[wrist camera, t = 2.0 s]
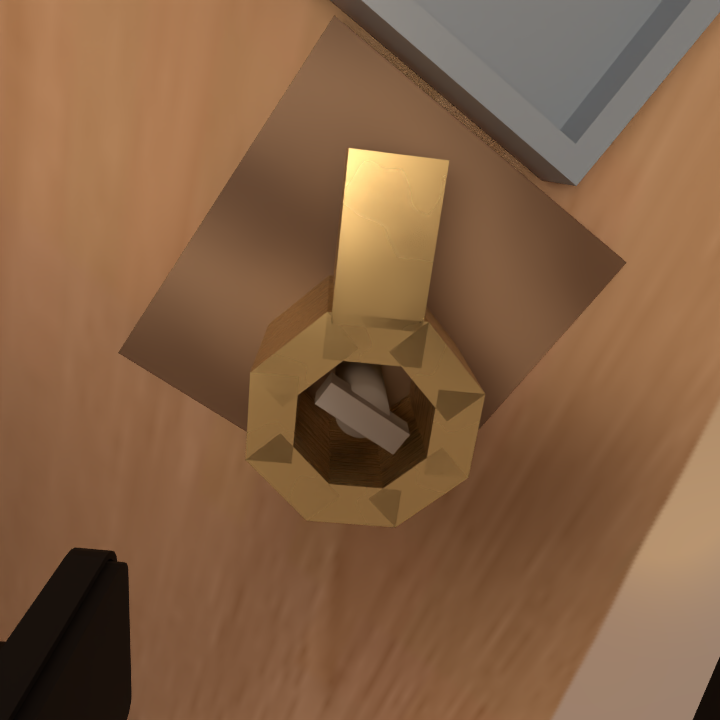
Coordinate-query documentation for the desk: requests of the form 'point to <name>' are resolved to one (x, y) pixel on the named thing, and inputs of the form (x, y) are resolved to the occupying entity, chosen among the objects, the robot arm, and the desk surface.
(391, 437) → the board
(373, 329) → the ring
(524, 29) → the tray
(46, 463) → the desk surface
